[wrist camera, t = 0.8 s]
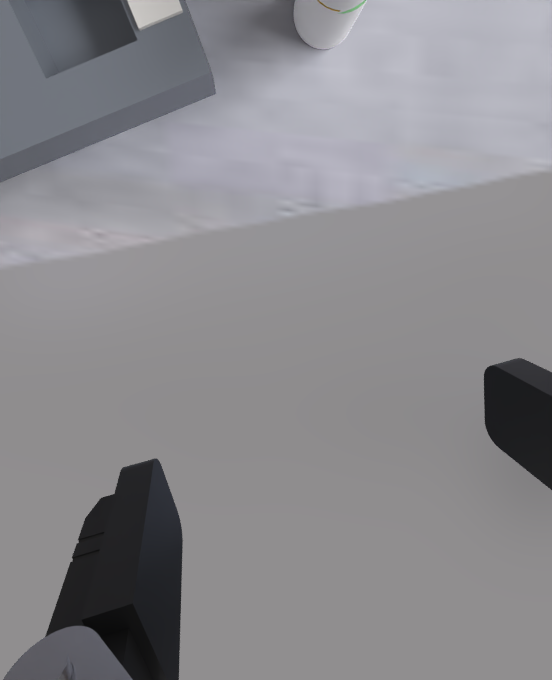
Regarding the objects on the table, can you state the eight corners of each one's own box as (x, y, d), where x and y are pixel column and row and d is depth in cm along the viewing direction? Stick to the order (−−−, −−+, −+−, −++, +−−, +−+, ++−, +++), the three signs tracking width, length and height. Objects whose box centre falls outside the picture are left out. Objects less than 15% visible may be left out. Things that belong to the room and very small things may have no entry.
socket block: (-85, 217, 31) (-143, 216, 26) (-196, 39, 27) (-285, 1, 23) (216, 93, 30) (211, 70, 25) (141, -106, 26) (119, -175, 22)
